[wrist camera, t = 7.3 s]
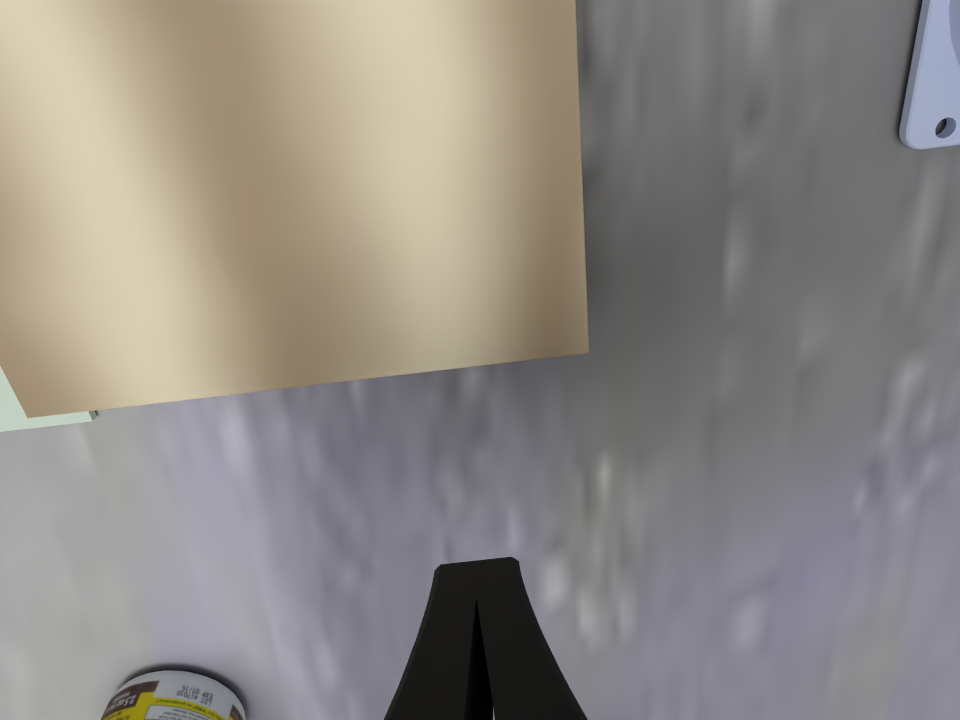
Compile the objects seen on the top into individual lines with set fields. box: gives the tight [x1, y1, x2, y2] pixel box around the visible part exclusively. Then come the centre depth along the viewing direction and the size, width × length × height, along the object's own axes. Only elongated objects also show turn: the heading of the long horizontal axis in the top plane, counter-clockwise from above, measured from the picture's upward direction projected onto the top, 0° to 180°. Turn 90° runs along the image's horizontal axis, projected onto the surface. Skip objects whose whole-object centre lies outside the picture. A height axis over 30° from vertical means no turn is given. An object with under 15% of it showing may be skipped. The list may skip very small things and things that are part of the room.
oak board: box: [0, 0, 589, 418], centre depth 15 cm, size 14×14×4 cm
